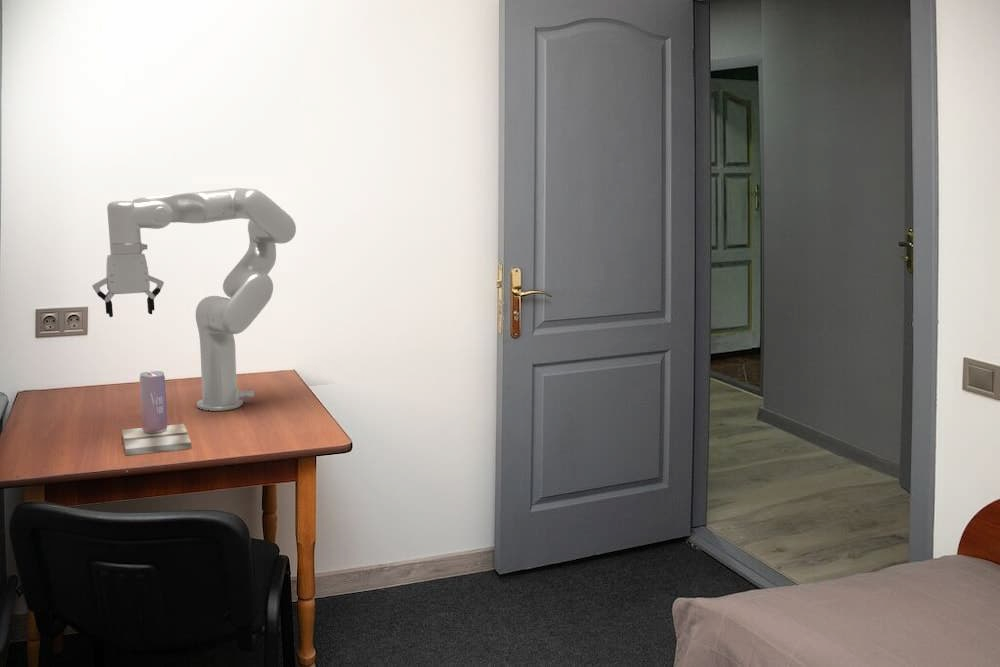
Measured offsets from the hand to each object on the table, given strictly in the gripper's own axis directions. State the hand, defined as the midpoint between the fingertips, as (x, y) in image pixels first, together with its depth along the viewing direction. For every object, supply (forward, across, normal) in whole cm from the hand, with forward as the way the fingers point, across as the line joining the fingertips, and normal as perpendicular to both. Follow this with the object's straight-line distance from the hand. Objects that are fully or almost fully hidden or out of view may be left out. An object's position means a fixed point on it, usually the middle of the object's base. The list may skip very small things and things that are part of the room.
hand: (130, 314), depth 245 cm
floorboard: (+29, -2, +24) cm, 38 cm away
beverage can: (+28, -2, +15) cm, 32 cm away
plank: (+29, -2, +15) cm, 33 cm away
